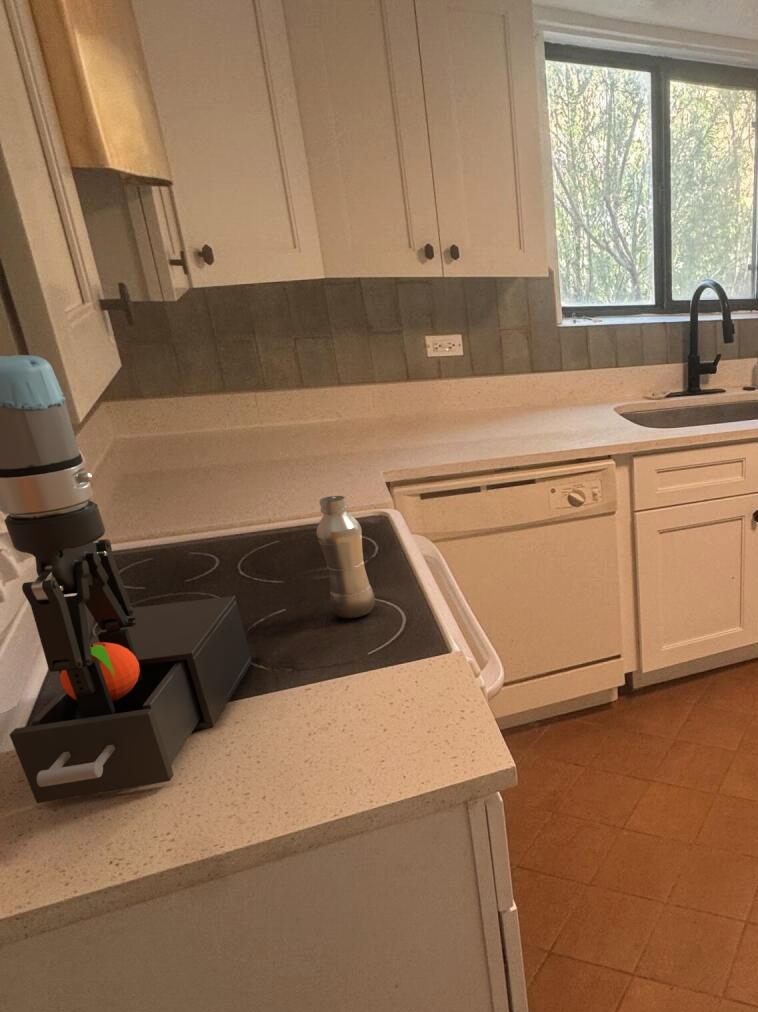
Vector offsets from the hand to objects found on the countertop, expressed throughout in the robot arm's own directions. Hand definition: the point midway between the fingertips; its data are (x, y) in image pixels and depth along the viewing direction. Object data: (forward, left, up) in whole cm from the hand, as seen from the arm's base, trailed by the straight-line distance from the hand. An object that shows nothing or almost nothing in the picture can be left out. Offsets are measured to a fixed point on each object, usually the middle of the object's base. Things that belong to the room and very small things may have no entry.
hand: (114, 696), depth 90 cm
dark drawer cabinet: (-12, +7, -9) cm, 16 cm away
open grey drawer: (+2, -1, -8) cm, 8 cm away
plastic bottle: (-21, +34, -9) cm, 41 cm away
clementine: (0, 0, 0) cm, 1 cm away
